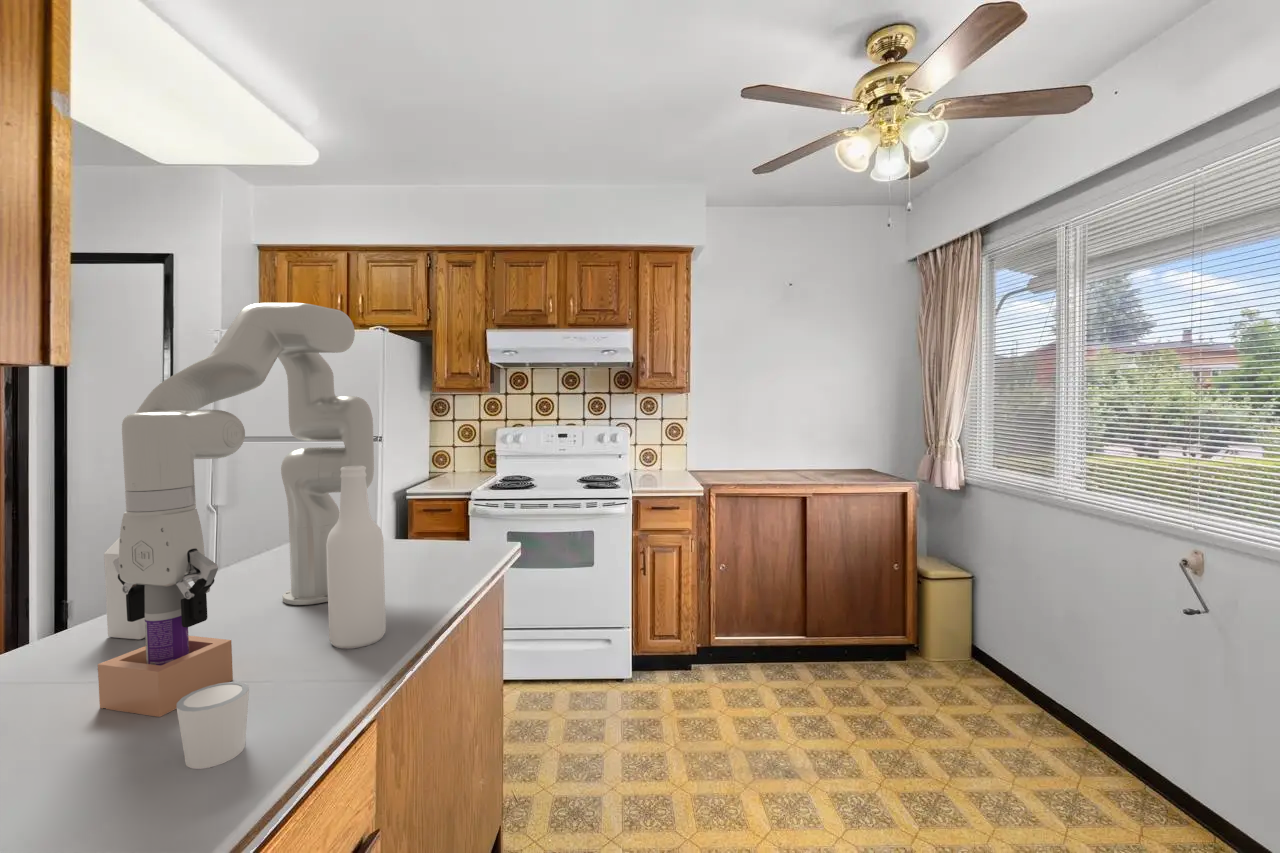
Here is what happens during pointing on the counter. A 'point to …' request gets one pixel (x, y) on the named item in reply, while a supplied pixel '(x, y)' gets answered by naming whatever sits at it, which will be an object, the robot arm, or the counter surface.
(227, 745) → the white cup
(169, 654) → the container
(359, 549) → the alcohol
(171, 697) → the tan open box
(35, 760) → the counter surface
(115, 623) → the milk carton
